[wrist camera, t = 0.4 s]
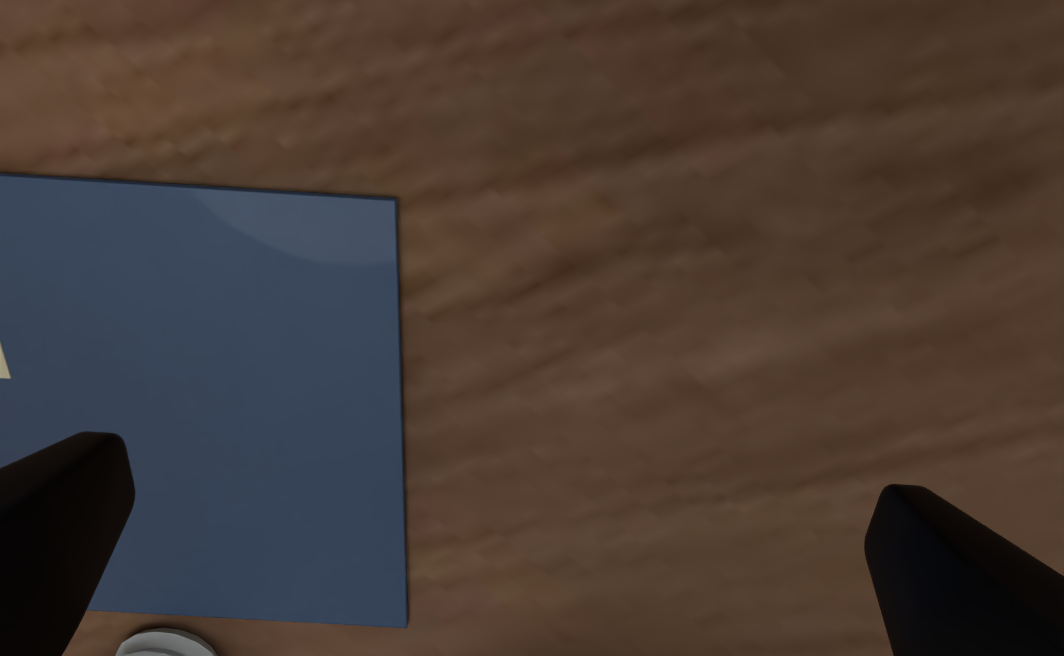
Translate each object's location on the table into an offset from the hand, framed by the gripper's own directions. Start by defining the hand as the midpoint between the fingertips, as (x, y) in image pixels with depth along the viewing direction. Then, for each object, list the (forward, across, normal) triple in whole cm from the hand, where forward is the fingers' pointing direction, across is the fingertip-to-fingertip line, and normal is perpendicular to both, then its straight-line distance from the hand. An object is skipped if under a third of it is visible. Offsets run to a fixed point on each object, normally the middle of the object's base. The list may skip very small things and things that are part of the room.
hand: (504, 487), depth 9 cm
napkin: (+14, +14, +10) cm, 22 cm away
